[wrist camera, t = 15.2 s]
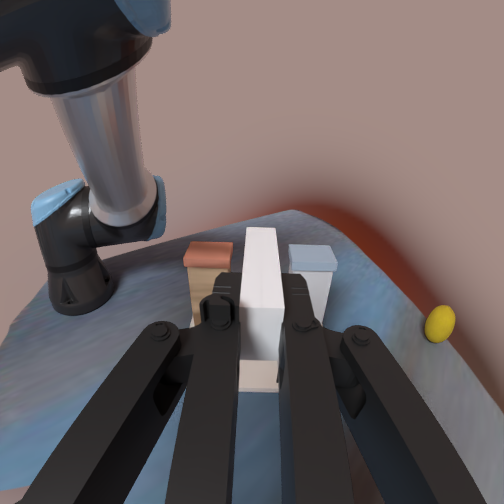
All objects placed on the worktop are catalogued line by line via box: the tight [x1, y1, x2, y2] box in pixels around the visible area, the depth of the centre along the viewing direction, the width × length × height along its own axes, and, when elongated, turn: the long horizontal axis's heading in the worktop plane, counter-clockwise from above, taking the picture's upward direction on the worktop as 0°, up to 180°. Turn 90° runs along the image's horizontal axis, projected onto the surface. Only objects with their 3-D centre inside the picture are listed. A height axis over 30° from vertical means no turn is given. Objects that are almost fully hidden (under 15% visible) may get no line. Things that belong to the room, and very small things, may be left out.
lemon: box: [425, 305, 455, 343], centre depth 40 cm, size 6×6×8 cm
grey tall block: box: [288, 244, 338, 325], centre depth 39 cm, size 5×6×15 cm
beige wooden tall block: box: [183, 241, 233, 326], centre depth 39 cm, size 5×6×15 cm
